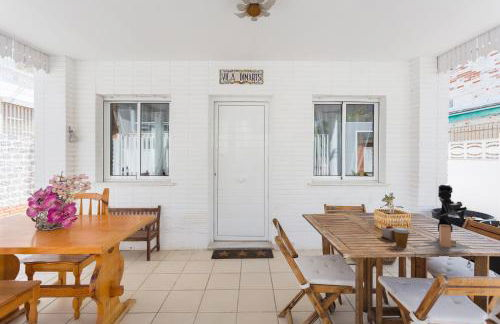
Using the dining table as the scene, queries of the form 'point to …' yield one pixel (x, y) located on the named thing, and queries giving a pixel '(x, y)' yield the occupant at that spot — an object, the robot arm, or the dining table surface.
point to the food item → (388, 232)
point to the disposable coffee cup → (401, 236)
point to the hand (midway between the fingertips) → (457, 223)
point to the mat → (458, 246)
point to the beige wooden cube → (453, 242)
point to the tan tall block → (445, 236)
